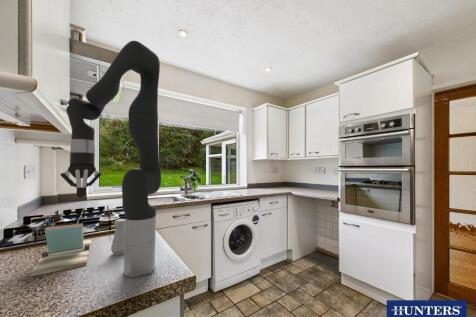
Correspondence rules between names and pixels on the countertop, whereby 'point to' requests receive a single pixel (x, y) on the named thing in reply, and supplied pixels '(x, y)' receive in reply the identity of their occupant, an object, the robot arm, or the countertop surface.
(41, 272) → the board
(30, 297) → the countertop surface
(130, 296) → the countertop surface
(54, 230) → the tile
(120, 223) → the salt shaker
